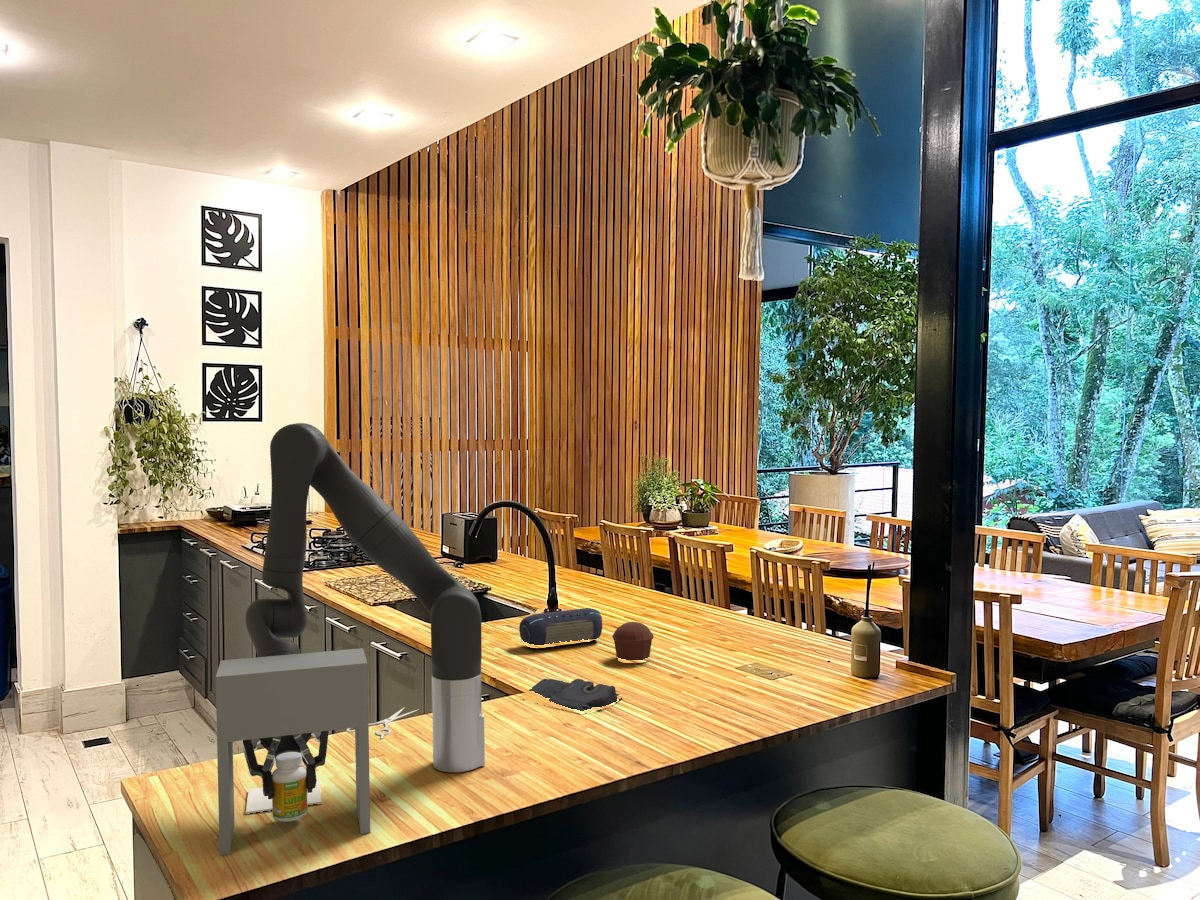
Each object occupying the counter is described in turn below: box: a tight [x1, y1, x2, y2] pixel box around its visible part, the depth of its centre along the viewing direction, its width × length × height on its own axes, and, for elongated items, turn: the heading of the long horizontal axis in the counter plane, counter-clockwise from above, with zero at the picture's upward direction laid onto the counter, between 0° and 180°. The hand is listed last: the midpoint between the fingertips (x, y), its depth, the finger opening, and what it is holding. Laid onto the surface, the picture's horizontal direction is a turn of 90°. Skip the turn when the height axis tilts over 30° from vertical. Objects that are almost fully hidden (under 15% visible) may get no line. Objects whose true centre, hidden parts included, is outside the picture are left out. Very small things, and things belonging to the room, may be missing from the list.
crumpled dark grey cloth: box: [528, 678, 620, 711], centre depth 210 cm, size 15×22×5 cm
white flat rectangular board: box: [245, 779, 322, 815], centre depth 156 cm, size 12×10×1 cm
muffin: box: [611, 621, 654, 660], centre depth 245 cm, size 12×11×10 cm
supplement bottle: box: [271, 752, 308, 823], centre depth 146 cm, size 5×5×10 cm
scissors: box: [346, 706, 420, 740], centre depth 196 cm, size 11×1×20 cm
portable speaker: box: [518, 607, 603, 645], centre depth 262 cm, size 25×10×10 cm, turn 118°
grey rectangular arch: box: [215, 647, 371, 856], centre depth 144 cm, size 22×11×27 cm, turn 109°
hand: (290, 793), depth 144 cm, fingers closed on supplement bottle, 5 cm apart
